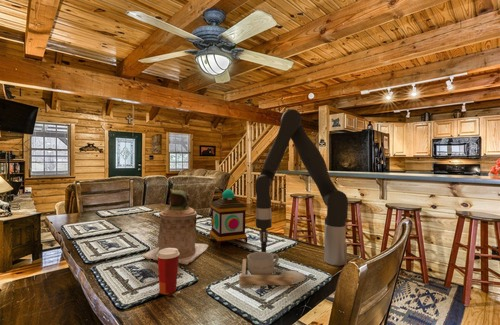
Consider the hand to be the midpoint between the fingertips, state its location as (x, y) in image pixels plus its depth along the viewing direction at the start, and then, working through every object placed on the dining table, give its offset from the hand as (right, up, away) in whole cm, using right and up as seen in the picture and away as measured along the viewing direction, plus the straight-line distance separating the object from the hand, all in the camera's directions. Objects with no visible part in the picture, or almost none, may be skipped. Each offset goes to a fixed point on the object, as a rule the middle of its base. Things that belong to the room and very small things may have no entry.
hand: (263, 253), depth 119 cm
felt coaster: (+11, -3, -18) cm, 21 cm away
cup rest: (0, -3, -16) cm, 16 cm away
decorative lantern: (-19, -2, +26) cm, 32 cm away
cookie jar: (-42, -2, +6) cm, 43 cm away
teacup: (-1, -3, -16) cm, 17 cm away
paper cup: (-36, -2, -30) cm, 47 cm away
